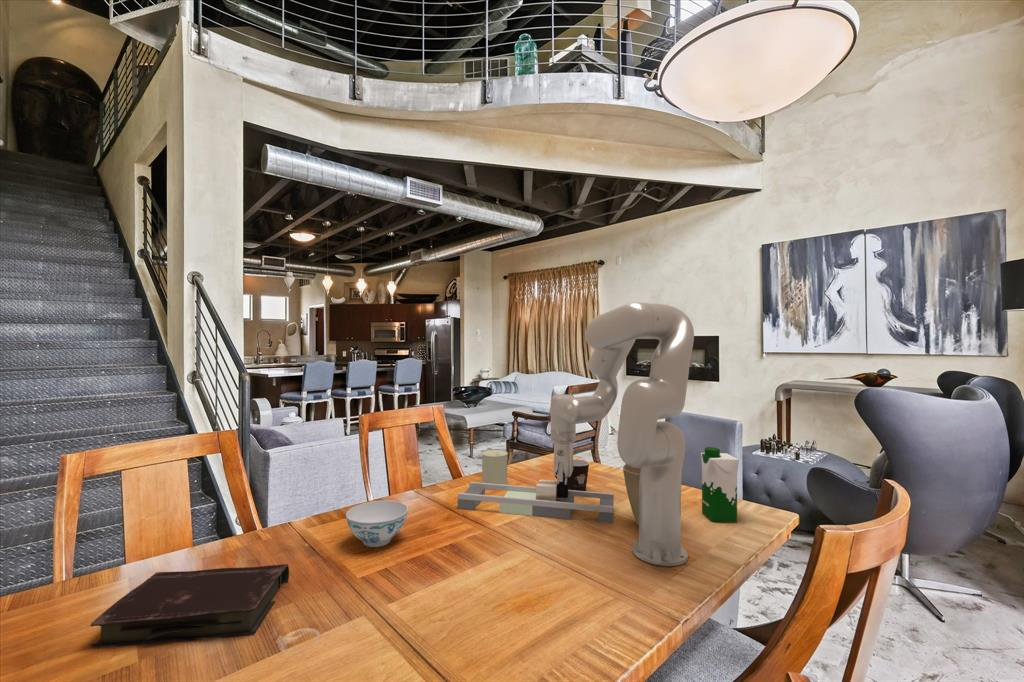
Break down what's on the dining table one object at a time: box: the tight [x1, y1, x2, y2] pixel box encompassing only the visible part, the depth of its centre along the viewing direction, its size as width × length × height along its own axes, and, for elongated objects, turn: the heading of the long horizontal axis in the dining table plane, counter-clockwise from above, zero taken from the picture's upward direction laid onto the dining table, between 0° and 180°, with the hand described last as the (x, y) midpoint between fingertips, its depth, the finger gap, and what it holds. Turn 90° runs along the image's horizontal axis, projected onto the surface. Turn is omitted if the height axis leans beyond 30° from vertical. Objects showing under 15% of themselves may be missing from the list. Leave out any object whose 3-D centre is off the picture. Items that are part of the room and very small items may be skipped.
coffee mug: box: [554, 458, 590, 491], centre depth 153 cm, size 12×9×10 cm
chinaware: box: [345, 499, 409, 548], centre depth 114 cm, size 15×15×8 cm
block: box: [535, 479, 558, 501], centre depth 136 cm, size 6×6×5 cm
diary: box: [89, 563, 290, 649], centre depth 84 cm, size 19×25×5 cm
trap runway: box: [457, 481, 615, 524], centre depth 137 cm, size 12×46×4 cm, turn 77°
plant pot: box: [622, 463, 641, 527], centre depth 125 cm, size 15×15×16 cm
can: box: [481, 449, 509, 491], centre depth 159 cm, size 9×9×12 cm
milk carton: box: [700, 446, 740, 523], centre depth 131 cm, size 9×9×20 cm
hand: (562, 496), depth 135 cm, fingers closed
